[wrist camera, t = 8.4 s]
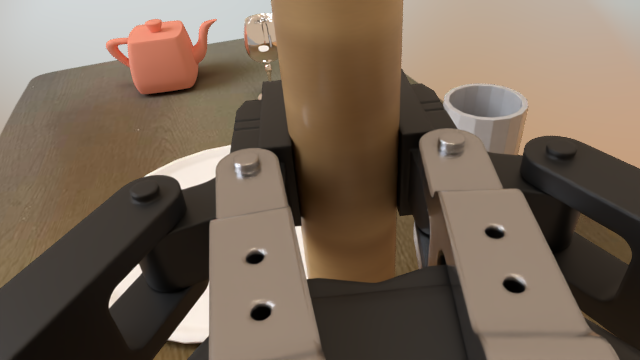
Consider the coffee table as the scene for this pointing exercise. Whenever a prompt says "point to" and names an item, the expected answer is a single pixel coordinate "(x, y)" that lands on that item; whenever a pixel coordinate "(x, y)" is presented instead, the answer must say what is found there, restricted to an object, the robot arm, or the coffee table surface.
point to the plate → (197, 320)
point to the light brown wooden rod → (343, 130)
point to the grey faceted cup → (489, 115)
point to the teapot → (162, 55)
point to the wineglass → (261, 40)
